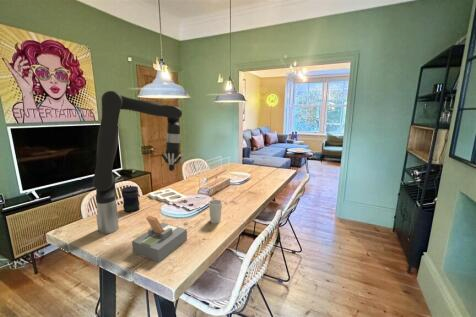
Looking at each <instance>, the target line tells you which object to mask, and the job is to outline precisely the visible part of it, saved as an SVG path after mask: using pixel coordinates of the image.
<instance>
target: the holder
mask: <svg viewBox="0 0 476 317" xmlns="http://www.w3.org/2000/svg"><path fill="white" fill-rule="evenodd" d="M148 197H150V199H152V200H155V199H156V200H158V201H160V202H161V203H163V202H166V203H167V204H169V202H173V201H177V200H179V199H183V198H186V197H187V196H186V195H184V194H181V193H180V192H178V191H176V190H174V189H172V188H171V187H170V188H166V189H161V190H157V191H153V192H152V191H151V192H148ZM178 197H180V198H178Z"/></svg>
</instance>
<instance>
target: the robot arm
mask: <svg viewBox="0 0 476 317" xmlns="http://www.w3.org/2000/svg"><path fill="white" fill-rule="evenodd" d="M121 110H127V111H133V112H138V113H140V114H146V115H151V116H155V117H164V118H166V119H167V130H166V133H167V134H166V141H165V142H166V143H165V152H164V153H162V154H161V157H162V159H163V160H164V162H165V163H166V164H168V170H169V172H173V171H175V165H178V164H179V163H180V162H181V160H182V159H184V158H183V157H184V156H183V155H181V152H180V145H181V144H180V143H181V125H180V118H182V116H183V111H182V109H181V108H180V107H178V106H175V105H168V104H163V103H159V102H154V101H150V100H149V101H148V100H143V99H141V100H140V99H137V98H131V97H127V96H125V95H122V94H120V93H118V92H116V91H115V90H108V91H105V92H104V93H103V94H102V96H101V120H100V124H99V127H98V128H99V129H98V135H97V142H96V166H95V170H94V175H93V178H92V179H93V180H92V185H93V187H94V188H95V191H96V192H95V193H96V194H95V195H96V196H95V202H96V209H97V211H96V212H97V214H96V224H97V231H98V232H99V233H100V234H105V235H107V234H111V233H114V232H116V231H118V229H119V228H120V227H119V217H118V207H117V197H116V193H117V192H116V189H117V188H116V180H115V176H114V174H113V166H114V162H115V159H116V154H117V151H118V144H119V130H120V129H119V119H120V118H119V117H120V113H121Z"/></svg>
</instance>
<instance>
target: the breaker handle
mask: <svg viewBox="0 0 476 317" xmlns="http://www.w3.org/2000/svg"><path fill="white" fill-rule="evenodd" d="M146 220H147V222H148V224H149V225H150V227H151V228H152V229H153V231H154V233H155V234H158V235H161V233H162V232H164V230H163V229H162V227H161V225H160V224H161V223H160V221H159V219H158V218H157V217H156V216H152V215H148V216H147V217H146Z"/></svg>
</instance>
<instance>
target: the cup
mask: <svg viewBox="0 0 476 317" xmlns="http://www.w3.org/2000/svg"><path fill="white" fill-rule="evenodd" d="M222 204H223V201H222V200H221V199H211V200H209V201H208V210H209V211H208V212H209V219H210V220H209V221H210V222H211V223H212V224H219V223H220V222H221V221H222V219H221V218H222V207H223V206H222Z"/></svg>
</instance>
